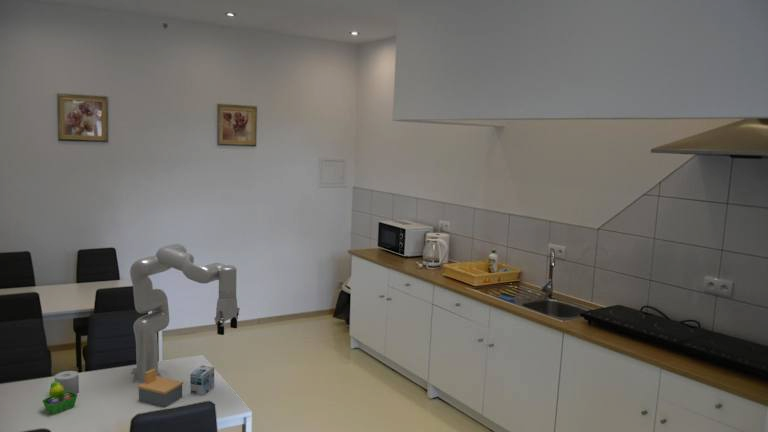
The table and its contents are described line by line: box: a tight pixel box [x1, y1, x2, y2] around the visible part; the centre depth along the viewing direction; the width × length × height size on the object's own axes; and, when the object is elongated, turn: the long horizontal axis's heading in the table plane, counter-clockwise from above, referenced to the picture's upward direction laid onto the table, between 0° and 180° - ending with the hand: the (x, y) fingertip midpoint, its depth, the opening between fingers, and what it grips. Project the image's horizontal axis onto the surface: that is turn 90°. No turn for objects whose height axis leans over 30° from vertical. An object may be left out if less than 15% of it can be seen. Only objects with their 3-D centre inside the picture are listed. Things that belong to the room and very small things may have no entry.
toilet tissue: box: [53, 370, 80, 395], centre depth 259 cm, size 9×13×9 cm
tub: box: [138, 384, 183, 408], centre depth 254 cm, size 14×11×7 cm
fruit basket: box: [42, 381, 78, 415], centre depth 243 cm, size 11×9×11 cm
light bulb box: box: [189, 364, 215, 397], centre depth 264 cm, size 11×7×11 cm, turn 168°
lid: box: [137, 369, 184, 394], centre depth 253 cm, size 15×12×7 cm
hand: (227, 331), depth 256 cm, fingers open, 9 cm apart
